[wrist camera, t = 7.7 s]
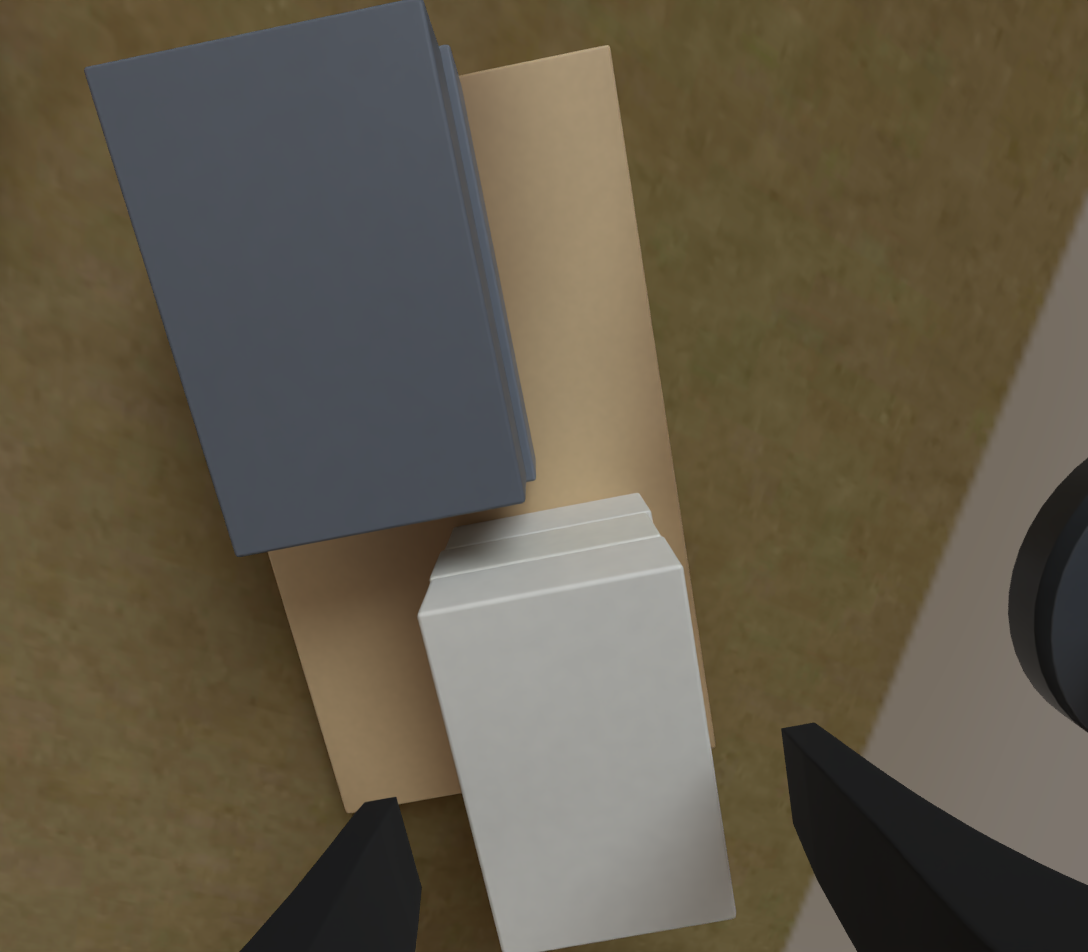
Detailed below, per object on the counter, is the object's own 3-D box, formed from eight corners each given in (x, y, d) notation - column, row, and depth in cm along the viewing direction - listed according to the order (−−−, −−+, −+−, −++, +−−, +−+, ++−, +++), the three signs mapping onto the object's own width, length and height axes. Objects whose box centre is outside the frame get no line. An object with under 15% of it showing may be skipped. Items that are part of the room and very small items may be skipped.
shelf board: (605, 60, 16) (610, 42, 15) (707, 728, 20) (716, 748, 19) (165, 151, 16) (141, 140, 15) (354, 791, 20) (345, 815, 19)
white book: (664, 534, 14) (683, 564, 12) (714, 852, 15) (737, 920, 14) (430, 578, 14) (415, 614, 12) (506, 889, 16) (503, 961, 14)
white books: (639, 491, 17) (666, 533, 14) (682, 755, 19) (716, 852, 15) (448, 527, 17) (427, 578, 14) (509, 785, 19) (504, 889, 16)
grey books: (460, 83, 15) (431, -16, 11) (536, 461, 17) (537, 507, 13) (207, 136, 15) (78, 59, 11) (310, 504, 17) (236, 563, 13)
